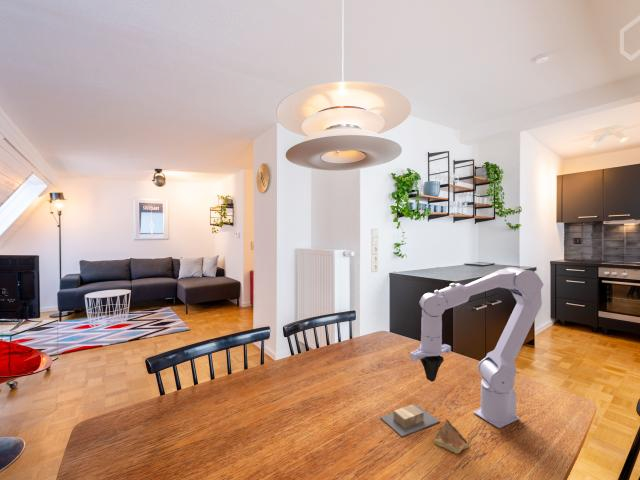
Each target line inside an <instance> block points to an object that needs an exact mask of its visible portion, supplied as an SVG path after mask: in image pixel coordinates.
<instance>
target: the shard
mask: <svg viewBox="0 0 640 480" xmlns="http://www.w3.org/2000/svg"><path fill="white" fill-rule="evenodd" d="M433 443H434V444H435V445H437V446H439V447H443V448H444V449H447V450H449V451H451V452H453V453H455V454H459V453H461V451H462V450H464V449H465V450H466V449H469V447H470V444H469V443H468V441H467V440H466V439H465V438H464V437H463V435H462V434H461V433H460V432H459V430H458V429H456V427H454V425H453V424H452V423H451V422H450V421H449V420H448V419H447V418H446V420H445V421H444V423H443V424H442V425H441V427H440V428H439V429H438V430H437V433H436V434H435V437H434V438H433Z"/></svg>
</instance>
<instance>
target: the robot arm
mask: <svg viewBox="0 0 640 480" xmlns="http://www.w3.org/2000/svg"><path fill="white" fill-rule="evenodd" d="M543 287H544V283H543V281H542V279H541V278H540V276H539V274H538V273H537V272H535V271H533V270H530V269H528V270H527V269H522V268H520V267H516V266H508V267H505V268H501V269H497V270H496V271H494V272H492V273H490V274H488V275H485V276H483V277H481V278H479V279H476V280H473V281H470V282H469V283H467V284H461V283H454V282H452V283H449V286H446V287H444V288H441V289H439V290H438V289H435V290H434V291H433V292H427V293H424V294H423V295H422V296H421V298H420V300H419V302H418V303H419V306H420V308H421V319H420V320H421V325H420V327H421V328H420V330H421V332H420V345H418V346H419V347H418V348H417V349H415V350H414V351H411V352H409V353H410V356H409V358H410V360H411V361H413V362H418V361H419V360H420V362H421V363H422V366H423V370H424V373H425V376H426V377H425V378H426V380H428V381H429V382H431V383H432V382H435V381H436V380H437V379H436V378H437V376H438V372H439V369H440V366H441V365H442V363H444V361H445V360H444V359H445V358H444V357H443V356H441V355H443V354H444V353H445V354H446V353H449V354H450V353H451V352H452V346H451V345H449V344H446V343H443V339H442V338H443V336H442V335H443V332H442V331H443V320H442V319H443V317H442V316H443V314H444V312H445V310H448V309H451V308H455V307H457V306H460V305H462V304H465V303H467V302H469V299H470V297H471V296H474V295H478V294H481V293H484V292H487V291H490V290H493V289H496V288H501V289H507V290H509V291H510V292H511V294H512V297H513V298H514V299H515V301H516V304H515V306H514V308H513V310H512V313H511V314H510V315H509V318H508V321H507V323H506V325H505V326H504V329H503V331H502V333H501V335H500V337H499V339H498V341H497V343H496V346H495V347H494V349H493V350H491V351H489V352H487V353H486V354H485V355H486V356H485V357H484V358H483V359H481V360H480V361H479V363H478V365H477V370H478V372H479V375H481V380H480V408H479V409H476V410H473V414H475V415H476V416H478V417H480V418H481V419H483V420H485V422H488V423H490V424H491V425H493V426H494V427H497V428H498V429H501V428H504V427H505V426H507V425H509V424H511V423H514V422H516V421H518V420H520V417H519V416H518V415H517V393H516V390H515V389H514V386H515V383H516V382H515V377H516V374H517V367H516V362H515V361H516V358H517V357H518V354H519V353H520V350H521V348H522V346H523V344H524V342H525V340H526V338H527V336H528V334H529V332H530V330H531V328H532V326H533V324H534V322H535V320H536V318H537V316H538V313H539V311H540V310H541V307H542V305H543V304H542V303H543V302H542V301H543V299H542V289H543ZM442 343H443V344H442Z"/></svg>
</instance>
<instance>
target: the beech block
mask: <svg viewBox="0 0 640 480" xmlns="http://www.w3.org/2000/svg"><path fill="white" fill-rule="evenodd" d="M393 413H394V420H395V421H397V422H398V423H399V424H400V425H401V426H403V427H404V428H406V427H409V426H411V425H414V424H417V423H419V422H422V421H424V412H422V411H421V410H419V409H418V408H417V407H415V406H414V404H409V405H406V406H403V407H400V408H398V409H394V410H393Z"/></svg>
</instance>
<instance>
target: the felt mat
mask: <svg viewBox="0 0 640 480" xmlns="http://www.w3.org/2000/svg"><path fill="white" fill-rule="evenodd" d="M413 405H414V404H413ZM414 406H415V407H417V408H418V409H419V410H421V411H422V412H424V421H422V422H419V423H417V424H414V425H411V426H409V427H406V428H404V427H403V426H401V425H400V424H399V423H398V422H397V421H395V420H394V412H392V413H388V414H385V415H382V416H380V419H381V420H382V421H383V422H384V423H386V425H387V426H389V428H391V429H392V430H393V431H394V432H396V433H397V434H398V435H399V436H400V438H401V437H402V438H403V437H405V436H408V435H410V434H413V433H416V432H418V431H422V430H423V429H426V428H429V427H430V426H433V425H436V424H438V423H441V420H439V419H438V418H436V417H435V416H434V415H432V414H431V413H429V412H428V411H426V410H425V409H424V408H422V407H420V406H419V405H418V404H415V405H414Z"/></svg>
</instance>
